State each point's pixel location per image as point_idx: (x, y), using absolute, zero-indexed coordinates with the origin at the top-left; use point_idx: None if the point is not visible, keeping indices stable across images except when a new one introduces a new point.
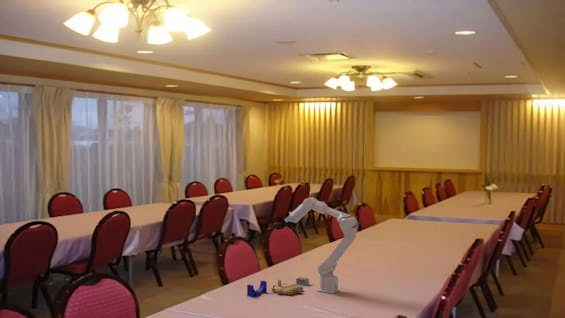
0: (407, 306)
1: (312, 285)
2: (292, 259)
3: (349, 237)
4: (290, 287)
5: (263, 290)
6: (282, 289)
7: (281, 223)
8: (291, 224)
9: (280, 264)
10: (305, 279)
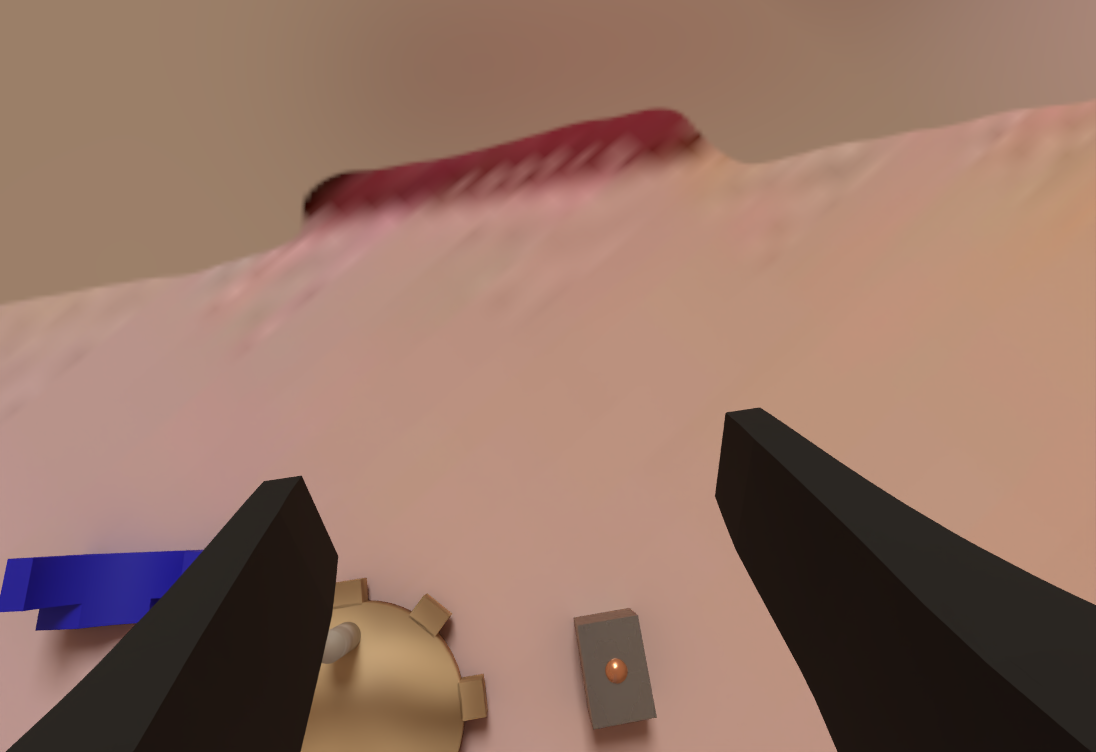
0: None
1: (644, 748)
2: (1081, 110)
3: None
4: (371, 741)
5: None
6: None
7: (143, 649)
8: (804, 639)
9: (911, 143)
10: (613, 712)
